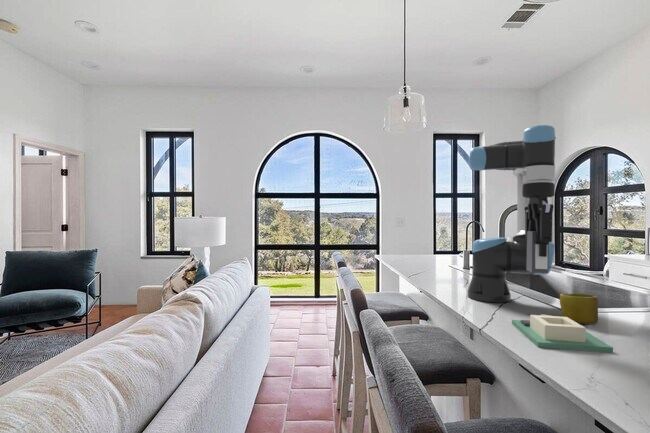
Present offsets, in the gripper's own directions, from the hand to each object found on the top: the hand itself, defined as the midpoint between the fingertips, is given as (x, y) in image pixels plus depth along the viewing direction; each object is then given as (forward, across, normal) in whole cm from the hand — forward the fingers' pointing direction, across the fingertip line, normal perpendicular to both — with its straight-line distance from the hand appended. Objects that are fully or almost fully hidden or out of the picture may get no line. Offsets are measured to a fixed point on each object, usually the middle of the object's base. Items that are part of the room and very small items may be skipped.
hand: (537, 267), depth 93 cm
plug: (+1, 0, 0) cm, 1 cm away
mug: (+17, -16, +16) cm, 29 cm away
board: (+18, +2, +4) cm, 18 cm away
